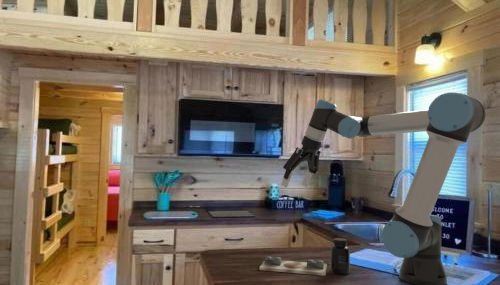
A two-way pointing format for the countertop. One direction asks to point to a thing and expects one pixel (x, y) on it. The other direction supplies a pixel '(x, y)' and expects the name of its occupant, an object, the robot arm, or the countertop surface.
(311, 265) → the cream base tray
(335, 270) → the supplement bottle
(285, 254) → the countertop surface
